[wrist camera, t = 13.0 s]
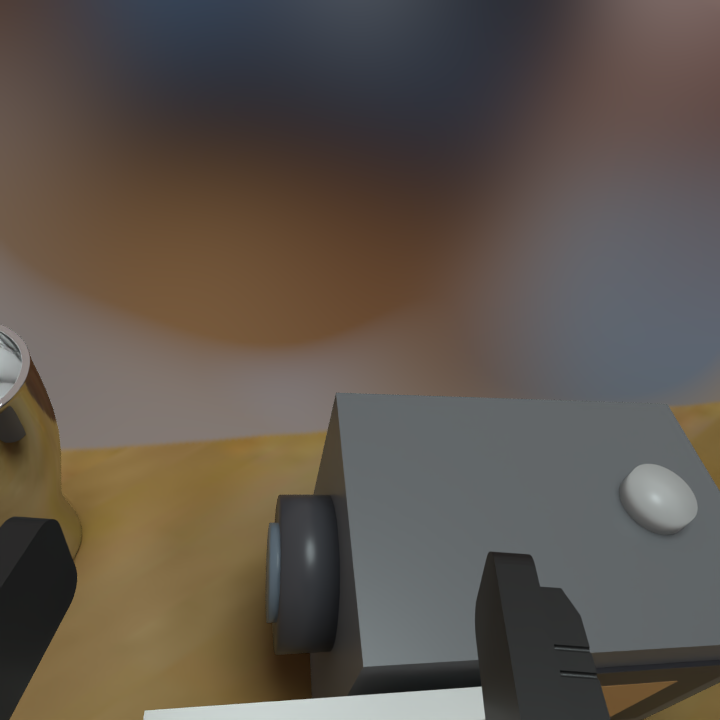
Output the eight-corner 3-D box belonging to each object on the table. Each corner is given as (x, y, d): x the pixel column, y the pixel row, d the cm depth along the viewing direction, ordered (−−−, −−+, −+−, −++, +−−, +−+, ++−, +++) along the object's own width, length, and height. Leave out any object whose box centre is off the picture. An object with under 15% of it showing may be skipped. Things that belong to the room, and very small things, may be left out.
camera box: (558, 529, 41) (677, 391, 30) (632, 729, 33) (831, 636, 22) (260, 533, 37) (278, 376, 26) (258, 764, 28) (281, 670, 18)
